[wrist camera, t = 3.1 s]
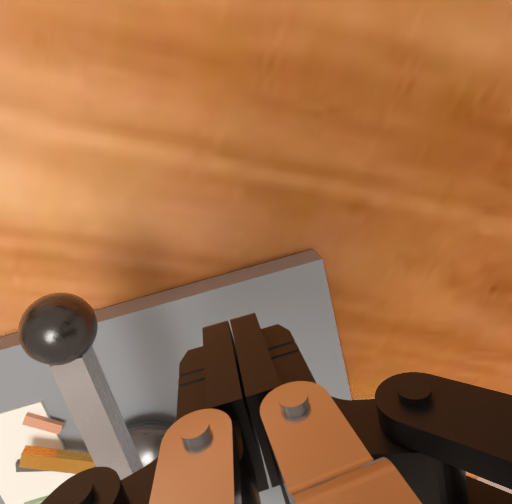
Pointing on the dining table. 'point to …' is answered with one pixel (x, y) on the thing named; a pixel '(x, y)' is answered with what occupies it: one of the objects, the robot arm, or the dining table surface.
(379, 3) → the dining table surface
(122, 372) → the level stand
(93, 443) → the capstan
